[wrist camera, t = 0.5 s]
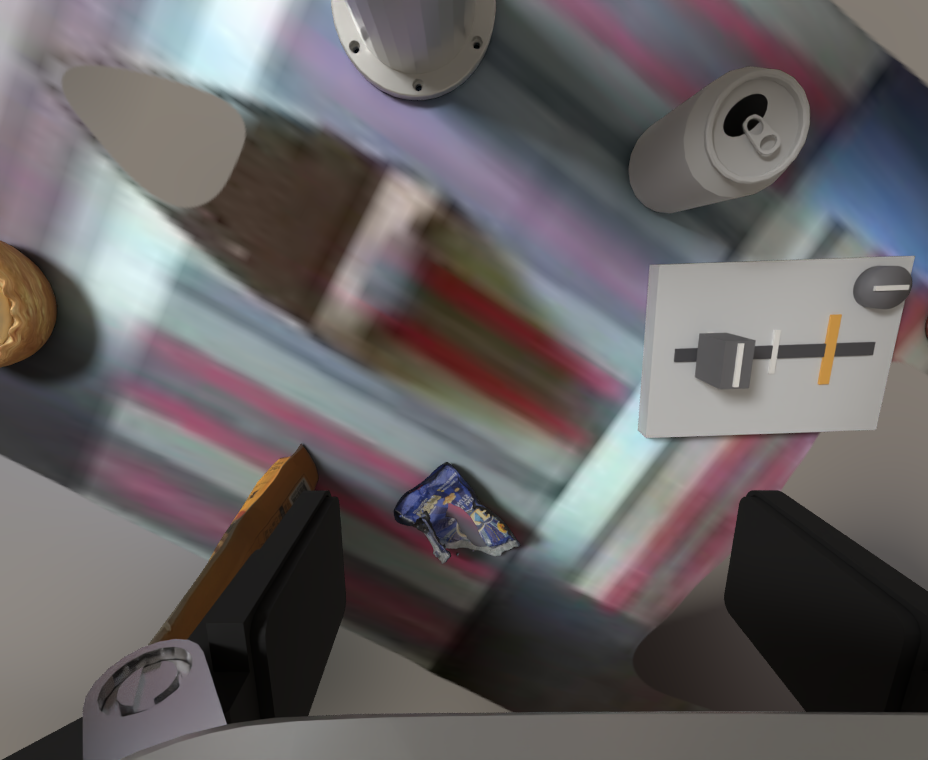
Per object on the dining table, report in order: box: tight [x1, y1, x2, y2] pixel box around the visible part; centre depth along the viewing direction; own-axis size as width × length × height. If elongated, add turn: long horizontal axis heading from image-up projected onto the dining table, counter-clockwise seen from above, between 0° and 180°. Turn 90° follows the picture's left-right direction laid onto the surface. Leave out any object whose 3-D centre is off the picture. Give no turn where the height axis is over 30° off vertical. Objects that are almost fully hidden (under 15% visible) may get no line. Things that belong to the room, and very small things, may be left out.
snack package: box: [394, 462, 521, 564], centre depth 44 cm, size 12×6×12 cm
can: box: [629, 66, 810, 213], centre depth 32 cm, size 8×8×12 cm
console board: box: [638, 256, 915, 438], centre depth 40 cm, size 16×22×4 cm
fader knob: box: [695, 333, 756, 389], centre depth 37 cm, size 4×2×4 cm, turn 2°
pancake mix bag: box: [148, 444, 319, 645], centre depth 32 cm, size 7×19×28 cm, turn 157°
